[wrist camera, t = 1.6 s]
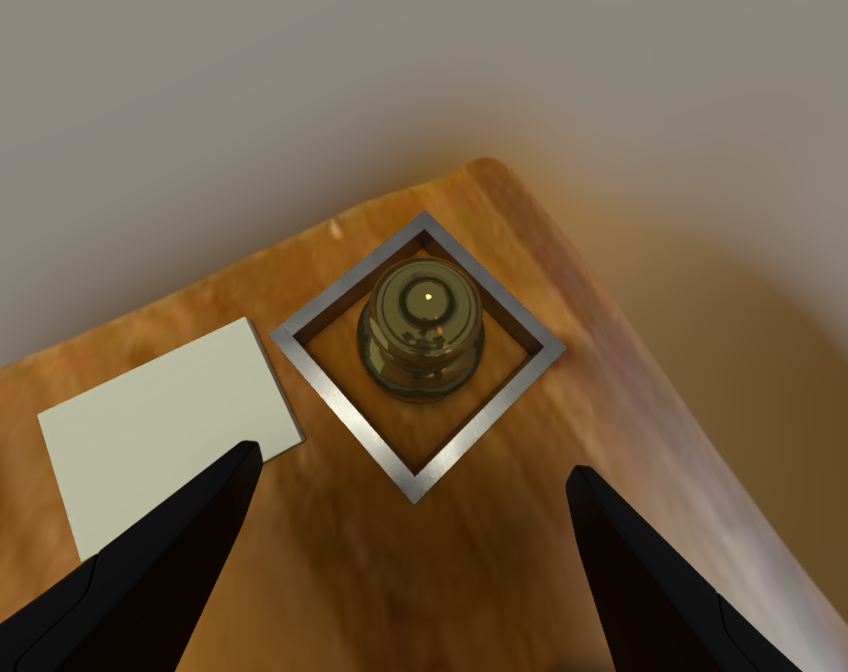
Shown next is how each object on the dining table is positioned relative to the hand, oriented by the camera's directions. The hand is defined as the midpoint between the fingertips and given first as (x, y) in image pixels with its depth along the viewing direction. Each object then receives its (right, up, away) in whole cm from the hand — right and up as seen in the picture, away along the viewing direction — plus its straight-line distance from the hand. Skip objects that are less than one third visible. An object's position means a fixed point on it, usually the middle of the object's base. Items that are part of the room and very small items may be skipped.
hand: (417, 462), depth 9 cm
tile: (-15, -2, +11) cm, 19 cm away
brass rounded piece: (0, +3, +14) cm, 14 cm away
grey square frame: (0, +3, +13) cm, 14 cm away
